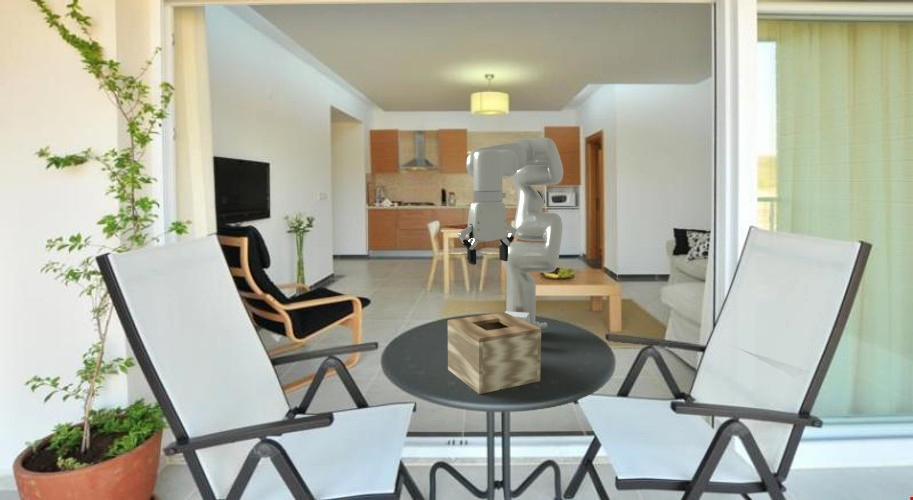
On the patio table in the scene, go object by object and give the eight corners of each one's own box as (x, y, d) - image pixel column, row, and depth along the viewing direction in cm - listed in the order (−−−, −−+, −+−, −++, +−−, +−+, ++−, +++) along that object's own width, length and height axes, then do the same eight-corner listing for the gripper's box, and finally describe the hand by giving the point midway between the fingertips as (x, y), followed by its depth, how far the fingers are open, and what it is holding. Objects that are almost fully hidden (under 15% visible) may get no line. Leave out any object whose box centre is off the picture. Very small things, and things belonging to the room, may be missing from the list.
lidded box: (504, 359, 147) (504, 312, 145) (540, 380, 131) (541, 328, 129) (448, 369, 139) (447, 320, 137) (479, 394, 123) (479, 338, 121)
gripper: (507, 196, 140) (507, 257, 142) (451, 198, 132) (452, 263, 135) (523, 197, 133) (523, 261, 136) (465, 199, 125) (466, 267, 128)
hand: (488, 262), depth 135 cm, fingers open, 9 cm apart
